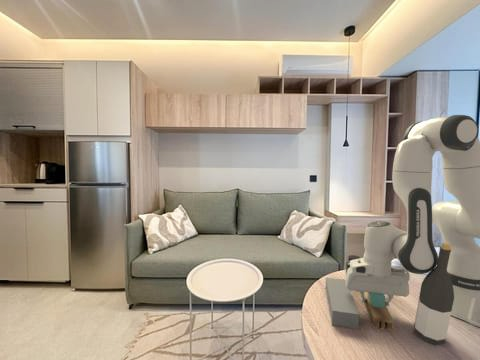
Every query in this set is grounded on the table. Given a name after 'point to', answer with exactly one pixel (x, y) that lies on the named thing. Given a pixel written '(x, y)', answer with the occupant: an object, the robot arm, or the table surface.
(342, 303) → the dock
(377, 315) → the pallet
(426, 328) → the wine bottle
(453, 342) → the table surface
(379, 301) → the mint green cube
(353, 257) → the supplement bottle
